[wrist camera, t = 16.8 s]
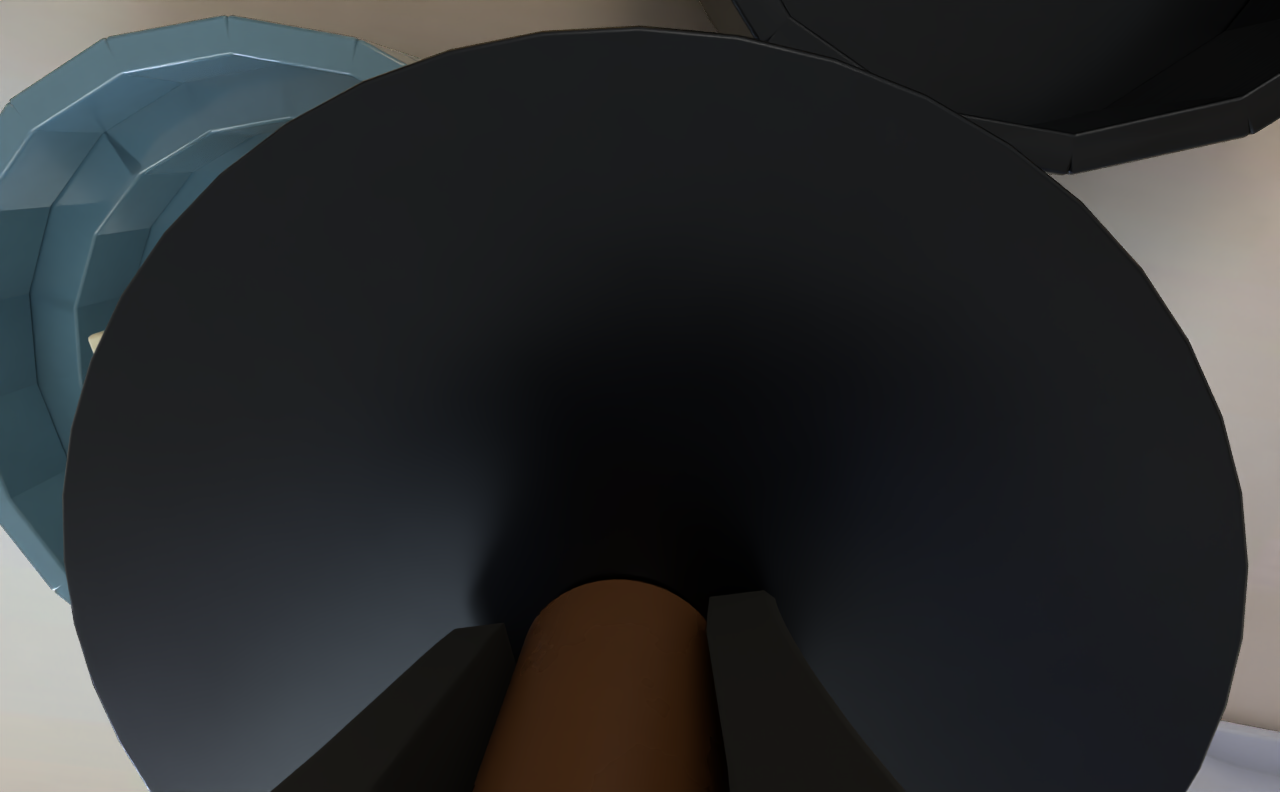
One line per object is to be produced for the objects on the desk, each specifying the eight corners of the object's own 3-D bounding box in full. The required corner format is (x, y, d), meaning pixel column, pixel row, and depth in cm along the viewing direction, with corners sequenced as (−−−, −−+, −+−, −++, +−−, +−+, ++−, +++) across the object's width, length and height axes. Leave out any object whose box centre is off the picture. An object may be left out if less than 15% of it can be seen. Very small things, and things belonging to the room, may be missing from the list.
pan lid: (1399, 160, 8) (2343, 175, 3) (989, 1052, 12) (1158, 1578, 8) (89, -59, 8) (-674, -318, 4) (150, 892, 12) (-159, 1309, 8)
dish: (708, 111, 16) (711, 100, 12) (606, 658, 20) (585, 771, 16) (65, -4, 16) (-122, -49, 12) (102, 561, 20) (-28, 651, 17)
